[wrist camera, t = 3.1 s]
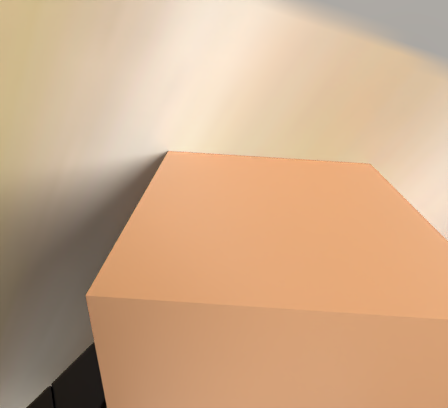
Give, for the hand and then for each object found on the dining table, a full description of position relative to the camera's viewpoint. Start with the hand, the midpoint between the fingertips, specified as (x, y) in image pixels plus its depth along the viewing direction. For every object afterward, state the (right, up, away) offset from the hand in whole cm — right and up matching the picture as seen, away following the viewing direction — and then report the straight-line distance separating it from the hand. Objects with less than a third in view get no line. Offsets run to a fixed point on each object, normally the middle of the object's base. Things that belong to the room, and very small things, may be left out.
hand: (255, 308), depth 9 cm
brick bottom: (0, 0, +1) cm, 1 cm away
